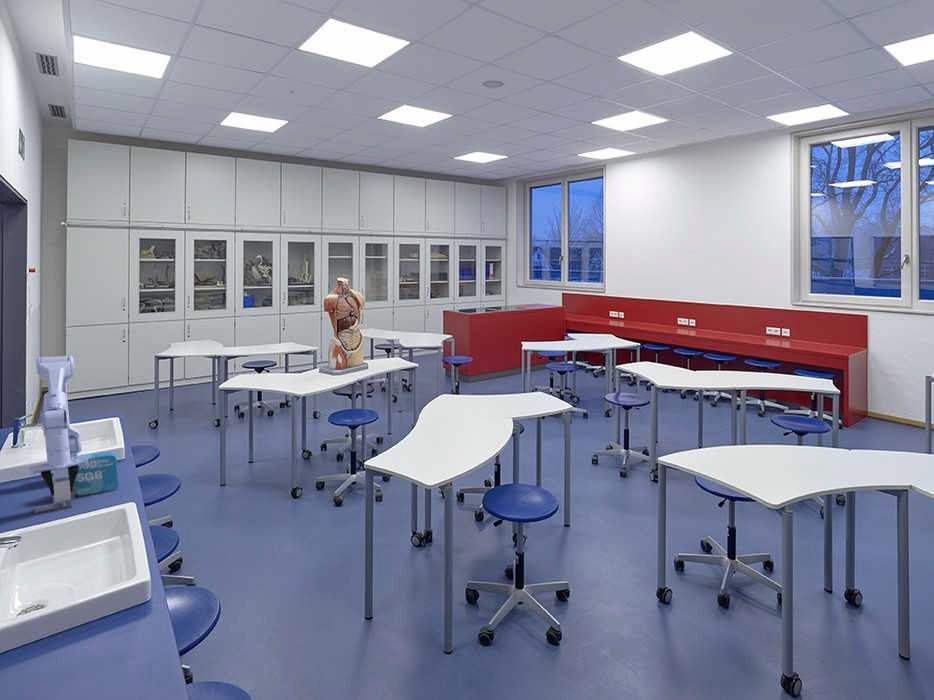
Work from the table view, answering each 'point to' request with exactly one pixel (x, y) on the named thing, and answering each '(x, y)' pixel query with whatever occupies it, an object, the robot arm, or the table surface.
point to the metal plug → (61, 489)
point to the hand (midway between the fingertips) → (61, 492)
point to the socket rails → (58, 502)
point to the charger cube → (73, 493)
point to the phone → (52, 507)
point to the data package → (97, 474)
